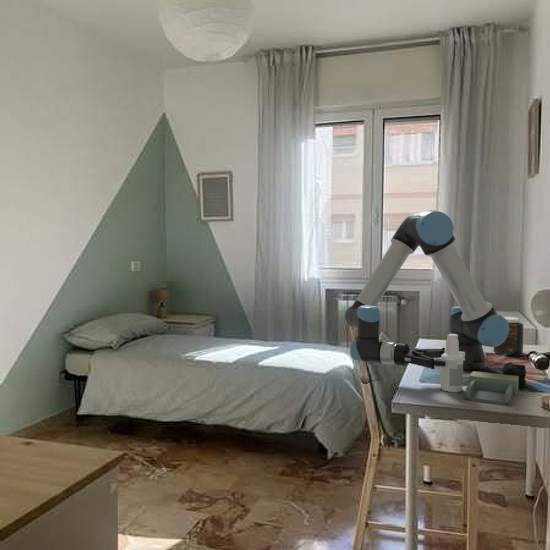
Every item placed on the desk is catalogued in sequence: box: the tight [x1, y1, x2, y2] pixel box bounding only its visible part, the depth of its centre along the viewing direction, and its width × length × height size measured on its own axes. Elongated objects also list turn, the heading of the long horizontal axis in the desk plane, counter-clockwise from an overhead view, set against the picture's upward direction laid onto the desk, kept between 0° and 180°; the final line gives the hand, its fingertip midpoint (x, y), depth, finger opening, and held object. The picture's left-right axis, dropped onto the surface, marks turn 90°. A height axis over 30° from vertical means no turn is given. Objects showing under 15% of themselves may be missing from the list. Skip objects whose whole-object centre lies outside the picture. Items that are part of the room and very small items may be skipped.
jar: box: [493, 316, 524, 356], centre depth 234 cm, size 12×12×15 cm
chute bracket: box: [463, 370, 519, 406], centre depth 171 cm, size 20×14×4 cm
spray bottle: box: [440, 333, 464, 393], centre depth 176 cm, size 7×7×18 cm
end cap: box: [501, 361, 527, 390], centre depth 183 cm, size 10×7×7 cm
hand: (461, 360), depth 175 cm, fingers open, 13 cm apart
